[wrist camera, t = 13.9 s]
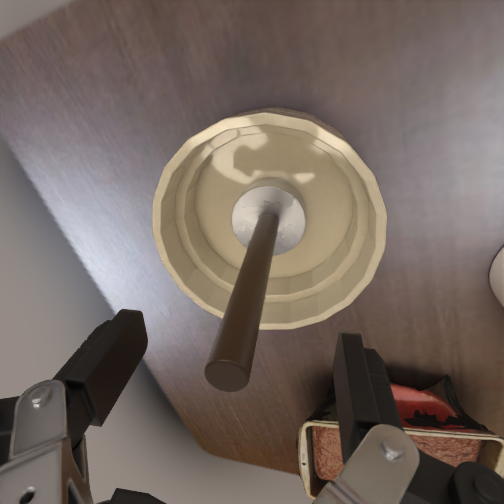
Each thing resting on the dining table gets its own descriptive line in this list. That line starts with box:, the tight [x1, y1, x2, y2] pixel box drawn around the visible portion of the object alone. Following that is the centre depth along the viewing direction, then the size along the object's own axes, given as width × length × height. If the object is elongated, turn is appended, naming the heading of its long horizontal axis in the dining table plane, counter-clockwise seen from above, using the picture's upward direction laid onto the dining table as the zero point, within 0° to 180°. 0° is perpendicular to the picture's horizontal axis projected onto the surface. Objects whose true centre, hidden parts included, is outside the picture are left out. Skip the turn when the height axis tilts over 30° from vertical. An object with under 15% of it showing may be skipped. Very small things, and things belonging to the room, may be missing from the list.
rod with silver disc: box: [205, 178, 306, 392], centre depth 18 cm, size 6×6×16 cm
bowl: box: [153, 107, 387, 330], centre depth 23 cm, size 15×15×6 cm
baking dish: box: [296, 375, 504, 500], centre depth 31 cm, size 14×18×10 cm
